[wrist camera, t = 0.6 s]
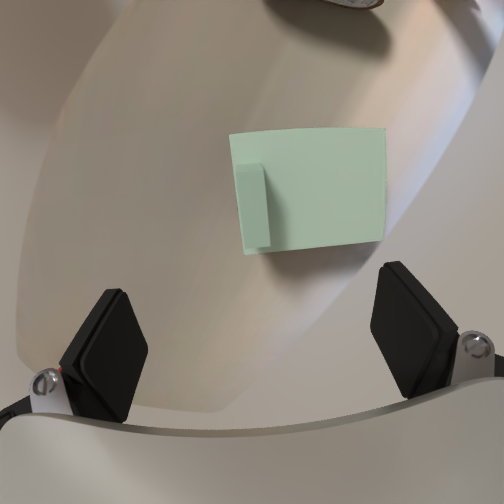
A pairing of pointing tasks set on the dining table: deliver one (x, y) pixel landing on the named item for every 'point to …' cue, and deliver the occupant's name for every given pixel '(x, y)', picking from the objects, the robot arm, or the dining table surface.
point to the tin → (357, 3)
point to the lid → (309, 187)
